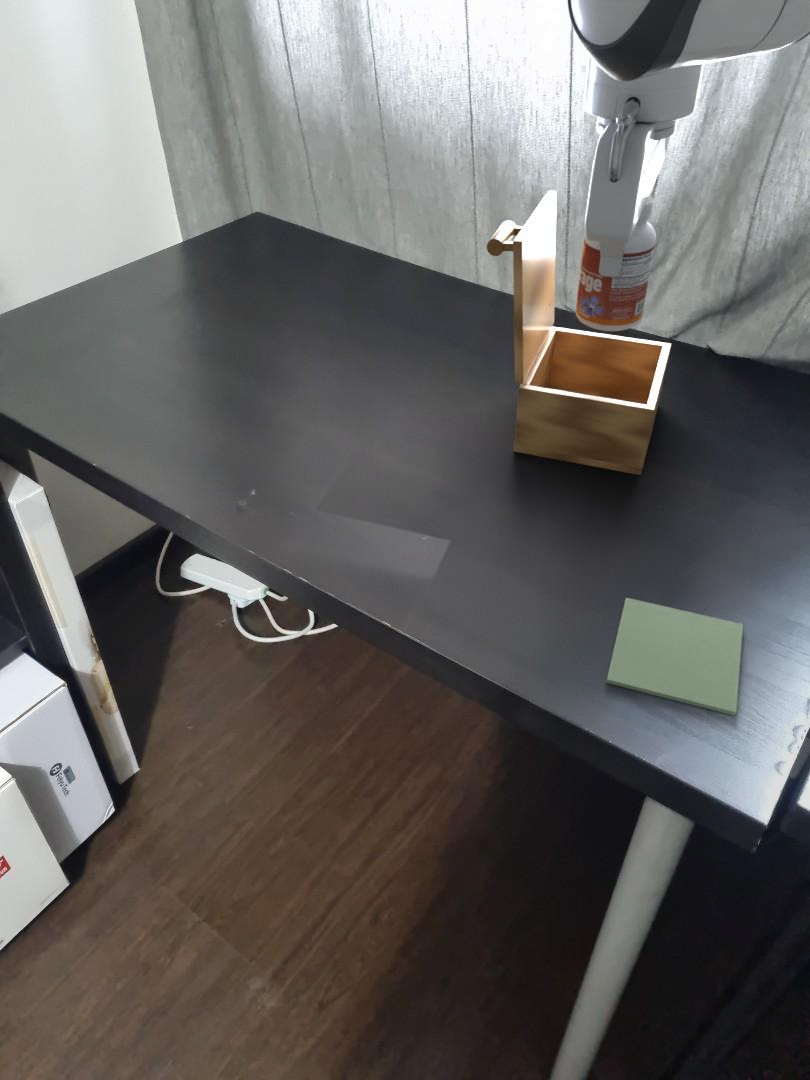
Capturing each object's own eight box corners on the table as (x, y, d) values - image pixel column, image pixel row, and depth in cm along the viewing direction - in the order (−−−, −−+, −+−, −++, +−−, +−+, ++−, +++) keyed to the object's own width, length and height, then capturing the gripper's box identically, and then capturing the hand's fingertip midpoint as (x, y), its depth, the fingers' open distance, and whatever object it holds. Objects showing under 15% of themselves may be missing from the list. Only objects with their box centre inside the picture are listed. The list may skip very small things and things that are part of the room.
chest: (658, 405, 89) (671, 343, 84) (640, 475, 80) (654, 410, 75) (543, 386, 93) (550, 325, 88) (513, 451, 83) (518, 387, 78)
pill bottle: (566, 307, 80) (578, 189, 73) (626, 302, 81) (645, 183, 74) (587, 336, 75) (603, 212, 68) (651, 330, 76) (674, 206, 69)
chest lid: (556, 190, 79) (511, 190, 81) (522, 241, 69) (471, 240, 71) (554, 322, 87) (513, 319, 89) (523, 383, 78) (478, 380, 79)
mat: (742, 627, 64) (743, 624, 64) (735, 716, 58) (736, 712, 58) (625, 600, 67) (625, 597, 66) (606, 682, 60) (606, 679, 60)
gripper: (666, 121, 57) (635, 309, 66) (695, 62, 72) (666, 223, 81) (576, 115, 59) (557, 299, 68) (621, 58, 73) (601, 216, 82)
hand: (616, 257), depth 74 cm, fingers closed on pill bottle, 6 cm apart
